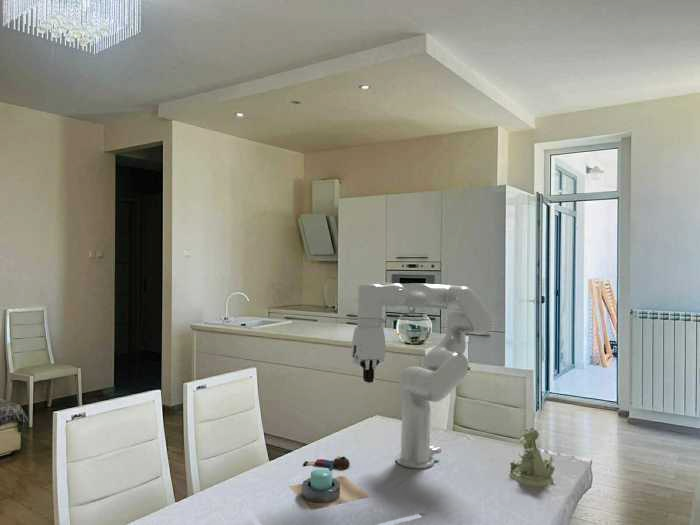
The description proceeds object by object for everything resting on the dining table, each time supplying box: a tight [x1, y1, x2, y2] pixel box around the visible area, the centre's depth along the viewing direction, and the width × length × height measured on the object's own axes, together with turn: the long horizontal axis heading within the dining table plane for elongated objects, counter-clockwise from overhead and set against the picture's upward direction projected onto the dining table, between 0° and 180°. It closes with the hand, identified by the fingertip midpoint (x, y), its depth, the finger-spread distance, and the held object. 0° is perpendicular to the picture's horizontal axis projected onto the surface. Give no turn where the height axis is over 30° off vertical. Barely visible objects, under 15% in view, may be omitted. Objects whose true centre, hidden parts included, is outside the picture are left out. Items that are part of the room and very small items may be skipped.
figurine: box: [509, 427, 556, 487], centre depth 166 cm, size 14×13×15 cm
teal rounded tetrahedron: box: [310, 468, 333, 490], centre depth 149 cm, size 6×6×6 cm
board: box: [289, 475, 371, 511], centre depth 151 cm, size 18×16×1 cm
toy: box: [302, 455, 351, 472], centre depth 171 cm, size 14×5×15 cm
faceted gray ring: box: [301, 477, 340, 504], centre depth 149 cm, size 10×10×3 cm
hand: (368, 381), depth 166 cm, fingers closed
